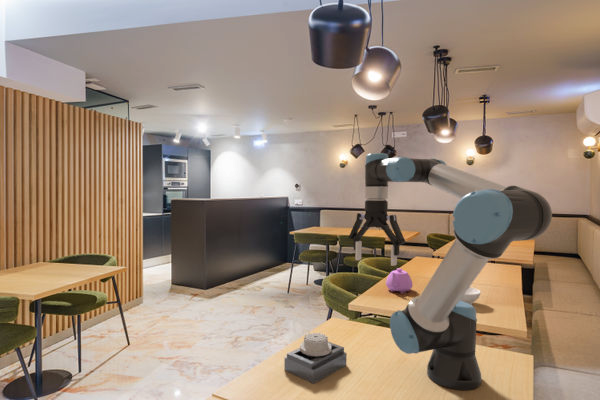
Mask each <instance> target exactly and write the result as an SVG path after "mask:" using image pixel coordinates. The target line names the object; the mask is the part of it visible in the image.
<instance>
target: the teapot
mask: <svg viewBox="0 0 600 400" xmlns="http://www.w3.org/2000/svg"><path fill="white" fill-rule="evenodd" d="M385 285H386V287H387V288H388V289H389V292H392V293H394V292H395V291H396V292H400V294H405V293H406V292H409V291H410V290H411V289H412V288H413V281H412V278H411V276H410V274H409V273H408V272H407V271H405V270H404V269H403V268H401V267H400V268H398V267H397V268H396V270H395V269H394V270H392V271H391V272H390V273H389V274H388V276H387V277H386V281H385Z"/></svg>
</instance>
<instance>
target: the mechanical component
mask: <svg viewBox="0 0 600 400" xmlns="http://www.w3.org/2000/svg"><path fill="white" fill-rule="evenodd" d="M328 342H329V338H328V336H327V335H326V334H324V333H321V332H319V333H318V332H308V333H306V334H304V337H303V341H302V342H301V343H300V345H299V348H300V351H301V352H302V353H303V354H306V355H309V356H324V355H327V354H329V353H330V352H331V349H332V346H331V344H330V343H331V342H330V343H328Z"/></svg>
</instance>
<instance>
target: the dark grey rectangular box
mask: <svg viewBox="0 0 600 400" xmlns="http://www.w3.org/2000/svg"><path fill="white" fill-rule="evenodd" d="M328 343H330V344H331V346H332V349H331V352H330V353H329V354H327V355H324V356H309V355H306V354H303V353H302V352H301V351H300V347H299V348H296V349H294V350H292V351H290V352H287V353H286V356H284V366H283V367H284V371H285V372H288V373H290V374H292V375H294V376H296V377H298V378H300V379H303V380H305V381H307V382H309V383H311V384H314V385H315V384H316V383H318V382H319V381H321V380H323V379H325V378H327V377H328V376H330V375H332V374H334V373H335V372H337V371H339V370H341V369H342V368H344V367H346V366H347V352H345V347H344V346H341V345H338V344H335V343H333V342H330V341H328Z"/></svg>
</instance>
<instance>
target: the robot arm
mask: <svg viewBox="0 0 600 400" xmlns="http://www.w3.org/2000/svg"><path fill="white" fill-rule="evenodd" d="M364 168H365V169H364V171H365V172H364V176H365V177H364V179H365V181H364V182H365V183H364V184H365V185H364V186H365V187H364V198H365V199H366V200H364V211H365V213H364V212H358V213H356V220H355V223H354V224H353V227H352V228H351V231H350V233H349V236H348V239H351V240H352V241H353V250H354V253H355V258H354V259H355V261H360V260H362V246H363V245H362V240H361V239H362V237H363V236H364V235H365V234H366V232H367V231H368V230H369V228H376V229H379V228H380V229H381V230H382V231H383V232H384V233H385V235H386V236H387V238H388V239H389V240H390V242H391V243H392V245H391V246H390V266H391V267H392V266H393V267H394V266H397V265H398V256H400V246H401V245H403V244H405V243H406V240H405V238H404V235H403V233H402V230H401V228H400V225H399V223H398V221H397V215H396V214H391V215H390V214H389V215H388V209H389V207H388V206H389V203H388V202H389V201H388V199H389V198H388V197H389V193H388V192H389V183H424V184H426V185H429V186H432V187H434V188H437V189H438V190H441V191H443V192H444V193H447V194H450V195H452V196H453V197H456V198H458V199H460V200H459V201H458V202H457V203H456V205H455V207H454V209H453V213H452V218H454V220H452V225H453V235H454V238H455V240H454V241H453V242H452V245H451V246H450V247H449V249H448V251H447V252H446V254H445V256H444V257H443V258H442V261H440V263H439V265H438V267H437V269H436V270H435V272H434V273H433V275H432V276H431V278H430V280H429V281H428V283H427V284H426V286H425V288H424V289H423V291H422V292H421V294H420V295H417V296H415V297H413V298H411V300H410V301H409V302H408V304H407V305H406V307H405V308H404V309H403V310H397V311H394V312H393V313H392V314H391V316H390V318H389V329H390V333H391V336H392V339H393V341H394V343H395V345H396V347H398V348H399V351H401V352H403V353H405V354H409V355H410V354H419V353H423V352H427V351H432V353H431V355H430V358H429V360H428V363H427V366H426V368H427V369H426V370H427V371H426V374H427V376H428V378H429V379H430V380H431V381H432V382H434V383H436V384H437V385H439V386H443V387H445V388H448V389H453V390H458V391H470V390H475V389H477V388H479V387H480V386H481V385H482V371H481V370H480V366H479V362H478V360H477V357H476V348H477V345H476V343H477V321H478V319H477V310H476V307H474V305H472V304H468V303H466V302H463V301H459V300H460V299H461V298H462V296H463V295H464V294H465V292H466V291H467V289H468V288H469V287H471V286H472V284H473V282H474V281H475V279H477V277H478V276H479V274H480V273H481V271H482V270H483V268H484V267H485V266H486V265H487V263H488V262H489V261H490V260H496V259H499V258H500V257H501V256H502V255H503V254H504V252H505V251H506V250H507V249H508V248H509V246H510V245H511V243H513V242H518V241H519V242H520V241H529V240H530V241H531V240H533V239H536V238H538V237H540V236H541V235H543V234H544V233H545V232H546V231H547V230H548V229H549V227H550V226H551V223H552V217H553V212H552V211H553V210H552V208H551V205H550V203H549V202H548V200H547V199H546V198H545V197H544V196H543V195H541V194H540V193H538V192H536V191H532V190H530V189H526V188H524V187H521V186H517V185H512V184H511V185H508V186H505V185H502V184H499V183H496V182H495V181H492V180H488V179H486V178H483V177H480V176H477V175H475V174H472V173H469V172H466V171H464V170H460V169H458V168H455V167H452V166H450V165H448V164H446V163H445V161H444V160H441V159H436V158H412V157H411V158H409V157H406V156H395V157H390V158H389V155H388V154H387V153H383V152H379V153H377V152H375V153H368V154H366V156H365V164H364ZM364 220H365V222H364V223H363V221H364ZM388 222H389V223H390V225H389V224H388ZM362 224H363V225H362ZM361 226H362V227H361ZM390 226H391V227H390Z"/></svg>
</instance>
